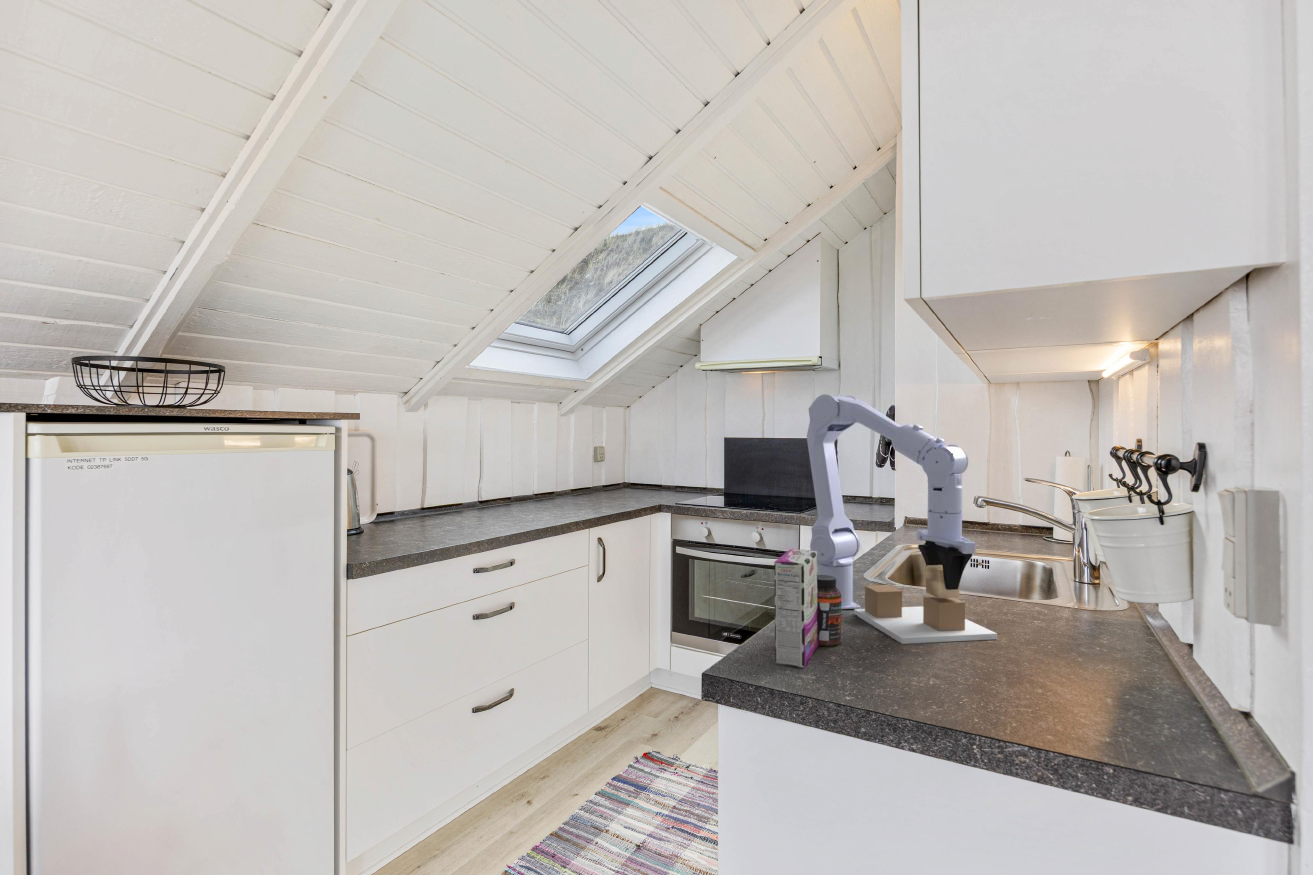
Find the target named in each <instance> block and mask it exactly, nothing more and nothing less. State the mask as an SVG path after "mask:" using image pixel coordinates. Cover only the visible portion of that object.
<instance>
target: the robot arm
mask: <svg viewBox="0 0 1313 875" xmlns="http://www.w3.org/2000/svg"><path fill="white" fill-rule="evenodd" d="M808 414H809V415H808V416H809V423H808V429H807V433H806V440H807V442H806V443H807V447H808V448H807V450H808V455H809V463H810V469H811V477H812V483H813V491H814V497H815V498H814V499H815V505H816V510H817V519H816V520H815V522H814V523H813V524H812V527H811V528H810V529H811V540H810V543H809V544H810V545H809V548H810V549H809V550H810V551H817V575H829V576H833V577H835V578H836V588H837V589H838V590H839V591H840V592H841V601H842V603H841V610H852V609H853V610H854V609H861V605H860V604H858V603H856V602H854V600H853V598H854V597H853V592H854V591H853V590H854V589H853V588H854V587H853V585H854V582H853V578H854V577H853V576H854V575H853V572H854V571H853V570H854V562H855V557H856V556H857V555H858V554H859V552H860V548H861V547H860V546H861V543H860V539H859V536H858V535H857V533H856V531H855V528H854V523H853V522H852V521H851V520H850V519H849V518H848V516H846V513H845V507H844V501H843V500H844V499H843V494H842V488H841V487H842V486H841V481H840V473H839V468H838V467H839V466H838V461H837V460H838V459H837V453H836V447H835V442H836V440H837V439H838V438H839V436H840V435H842V433H843V432H845V431H846V430H848V429H850V428H851V427H852V426H854V425H855V424H856V423H858V424H860V425H862V426H864V427H865V428H868V429H870V430H871V431H873V432H875V433H877V434H879V435H881V436H883V437H885V438H887V439H889V441H891V444H892V447H893V450H894V451H895V452H898V453H899V454H901V455H902V456H904V457H906V458H908V459H909V460H911V461H913V462H914V463H916V464H918V465H920V467H921V468H922V470H923V472H924V473H925V474H926V476H927V529H917V530H916V541H924V542H925V543H923V544H922V543H921V544H918V545H917V548H918V550H919V552H920V554H921V555H922V558H923V559H924V562H925V567H926V566H927V565H942V567H943V574H944V583H945V588H946V589H947V590H956V589H958V587H959V588H960V583H961V580H962V577H963V573H964V570H965V569H966V567H967V564H968V563H969V561H971V560H970V559H971V558H972V557H973V554H976V542H974V541H972V540H969V539H968V538H966V537H964V536H963V533H962V532H963V473H965V471H966V470H967V469H968V466H969V465H968V464H969V458H968V455H967V453H966V452H965V450H964V449H962V448H961V447H960V446H959V445H956V444H947V445H946V444H945V439H943V438H942V437H938V438H936V437H935V436H933V435H931V434H929V433H927V432H926V431H924V430H923V429H924V426H921V425H920V424H910V423H909V424H905V425H901V424H899V423H897V422H896V421H895V420H893V419H891V418H890V417H888V416H886V415H885V414H884V413H882V412H880V411H879V410H877V409H875V408H874V407H873V406H871V405H869V404H868V403H867V402H866V401H864V400H861V399H857V398H856V397H854V396H852V395H845V396H843V395H842V396H841V395H831V394H828V393H827V394H820V395H819V396H817V397H816V398H815V399H814V401H813V402H812V403H811V404H810V406H809V407H808Z"/></svg>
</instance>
